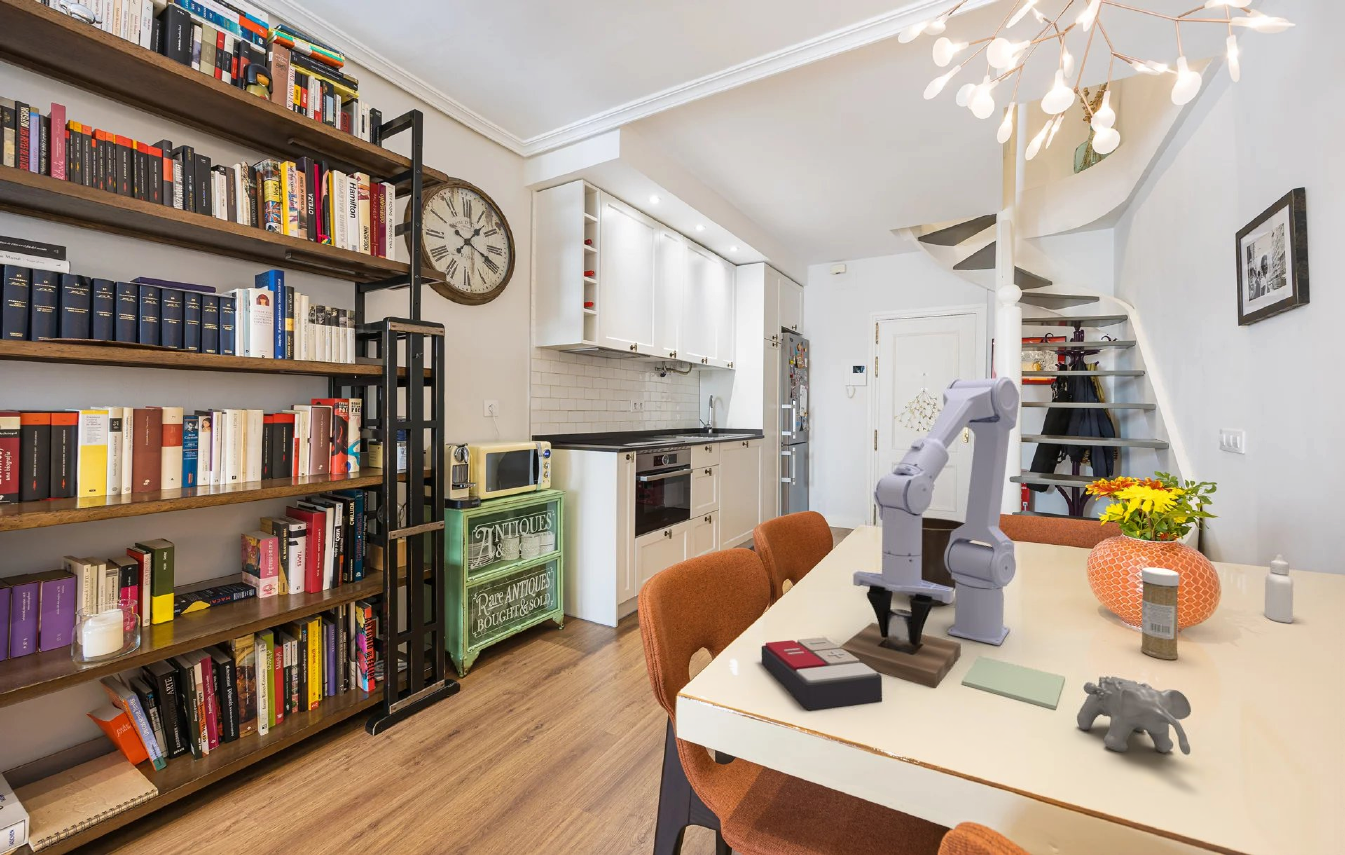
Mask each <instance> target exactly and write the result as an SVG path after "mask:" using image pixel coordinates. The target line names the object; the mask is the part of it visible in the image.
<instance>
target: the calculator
mask: <svg viewBox="0 0 1345 855" xmlns="http://www.w3.org/2000/svg"><path fill="white" fill-rule="evenodd" d="M761 665H762V666H763V667H764V668H765V669H766V670H767V671H768V672H769V674H771V675H772V676H773V677H774V678H775V679H776V680H777V681H778V682H779V683H780V684H781V685H782V686H784V688H786V689H787V690H788V691H789V692H790V693H791V696H792V697H793V698H794V700H796V702H798V704H799V705H801V707H802V708H803V709H804V710H805V711H807V712H816V711H823V710H831V709H838V708H846V707H854V706H860V705H861V706H862V705H869V704H875V703H882V702H883V677H882V675H881V674H879V673H878V671H875V670H873V669H871V668H870V667H868V666H867V665H865V664H863V663H861V662H859V659H858V658H856V657H855V656H853V655H851V654H850V653H848V652H847V651H845V650H844V649H840V646H839V645H837V644H836V643H834V641H833V642H832V641H831V640H829V639H828V638H827V637H823V636H821V637H813V638H801V639H797V642H796V641H795V640H792V639H790V640H781V641H773V642H771V641H770V642H769V641H768V642H765V645H761Z"/></svg>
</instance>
